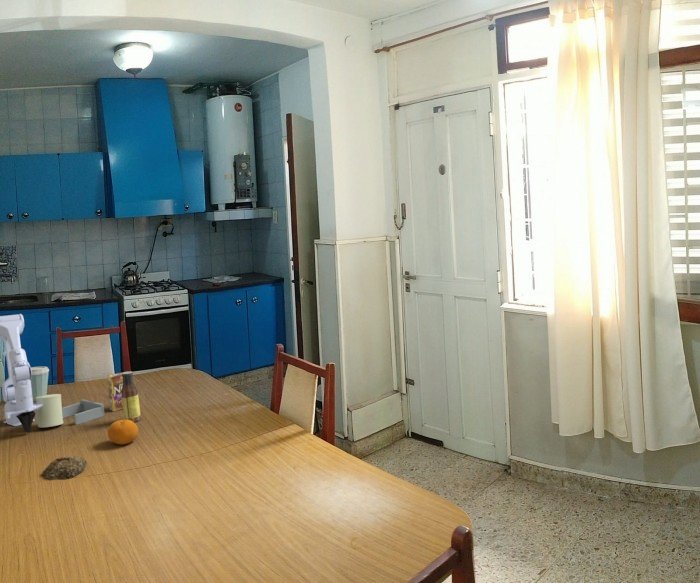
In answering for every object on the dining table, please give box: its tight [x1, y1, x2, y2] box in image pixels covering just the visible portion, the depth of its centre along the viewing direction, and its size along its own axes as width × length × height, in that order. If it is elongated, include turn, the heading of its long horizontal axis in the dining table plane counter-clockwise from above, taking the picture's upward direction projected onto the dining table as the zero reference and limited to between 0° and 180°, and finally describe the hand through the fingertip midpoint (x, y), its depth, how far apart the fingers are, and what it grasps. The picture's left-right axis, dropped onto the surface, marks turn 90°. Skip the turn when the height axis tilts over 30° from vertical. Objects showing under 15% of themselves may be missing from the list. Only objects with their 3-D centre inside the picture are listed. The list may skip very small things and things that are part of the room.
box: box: [62, 398, 105, 426], centre depth 256 cm, size 14×13×5 cm
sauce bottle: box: [121, 371, 141, 423], centre depth 249 cm, size 7×6×20 cm
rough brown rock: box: [41, 455, 87, 480], centre depth 202 cm, size 13×12×5 cm
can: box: [35, 393, 64, 428], centre depth 246 cm, size 9×9×12 cm
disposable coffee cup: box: [30, 366, 50, 402], centre depth 284 cm, size 11×11×15 cm
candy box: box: [107, 372, 123, 412], centre depth 266 cm, size 9×4×15 cm, turn 134°
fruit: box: [107, 418, 139, 446], centre depth 226 cm, size 10×10×8 cm
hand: (27, 431), depth 238 cm, fingers closed
